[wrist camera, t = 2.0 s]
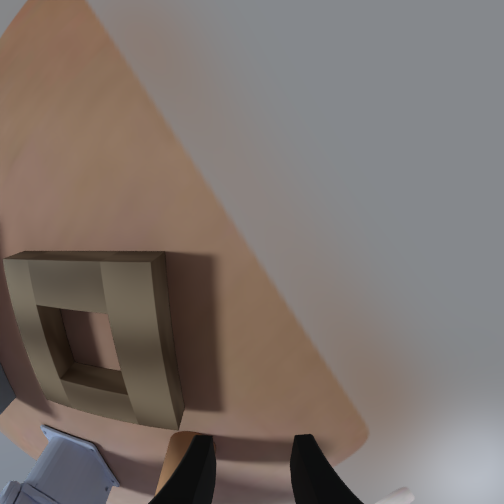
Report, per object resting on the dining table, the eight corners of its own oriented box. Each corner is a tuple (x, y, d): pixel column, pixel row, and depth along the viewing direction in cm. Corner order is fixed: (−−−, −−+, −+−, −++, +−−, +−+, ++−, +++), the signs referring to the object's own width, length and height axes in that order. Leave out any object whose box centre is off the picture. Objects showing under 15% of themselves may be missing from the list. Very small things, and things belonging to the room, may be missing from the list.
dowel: (217, 458, 20) (210, 529, 12) (174, 454, 20) (158, 522, 12) (213, 433, 19) (203, 513, 11) (166, 428, 19) (143, 504, 11)
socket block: (184, 407, 18) (178, 430, 16) (59, 383, 18) (46, 399, 16) (164, 251, 16) (150, 262, 13) (24, 251, 15) (2, 258, 13)
